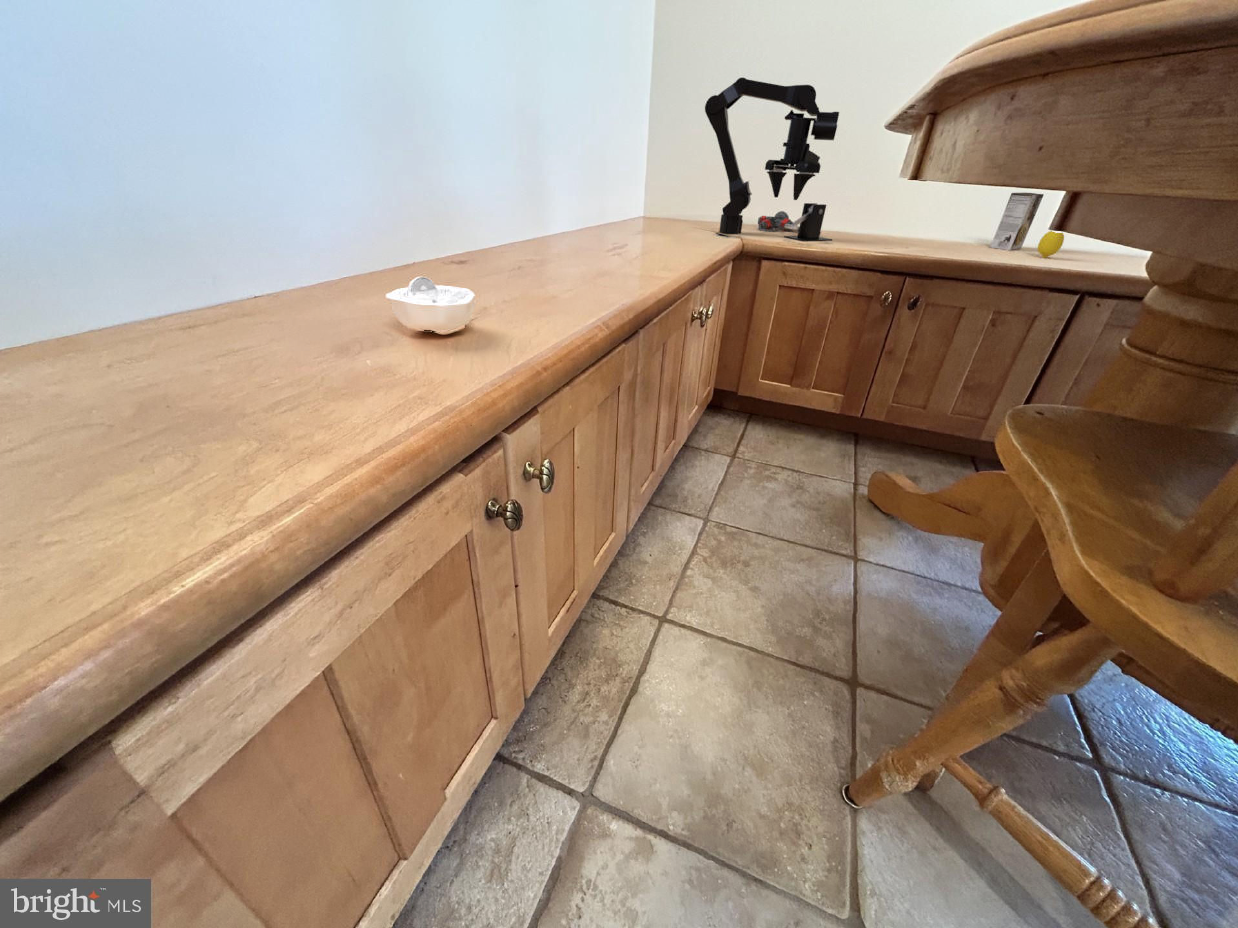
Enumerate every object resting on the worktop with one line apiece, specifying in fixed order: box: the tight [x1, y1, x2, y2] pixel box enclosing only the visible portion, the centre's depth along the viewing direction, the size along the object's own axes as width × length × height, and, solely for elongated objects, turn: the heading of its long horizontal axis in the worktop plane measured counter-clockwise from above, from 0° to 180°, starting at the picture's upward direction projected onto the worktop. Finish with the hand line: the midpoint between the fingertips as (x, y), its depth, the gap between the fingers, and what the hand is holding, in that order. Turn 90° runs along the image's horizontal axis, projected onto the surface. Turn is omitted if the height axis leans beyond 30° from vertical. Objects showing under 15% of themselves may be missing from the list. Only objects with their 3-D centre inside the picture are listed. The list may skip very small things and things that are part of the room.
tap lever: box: [785, 205, 813, 231], centre depth 155 cm, size 11×5×2 cm
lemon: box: [1037, 230, 1065, 259], centre depth 147 cm, size 6×6×8 cm
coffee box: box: [989, 192, 1044, 251], centre depth 161 cm, size 9×6×16 cm
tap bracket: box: [783, 202, 833, 243], centre depth 157 cm, size 12×9×11 cm
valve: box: [757, 210, 822, 235], centre depth 175 cm, size 6×26×15 cm
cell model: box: [385, 276, 476, 336], centre depth 65 cm, size 10×12×7 cm
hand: (785, 198), depth 155 cm, fingers open, 9 cm apart
